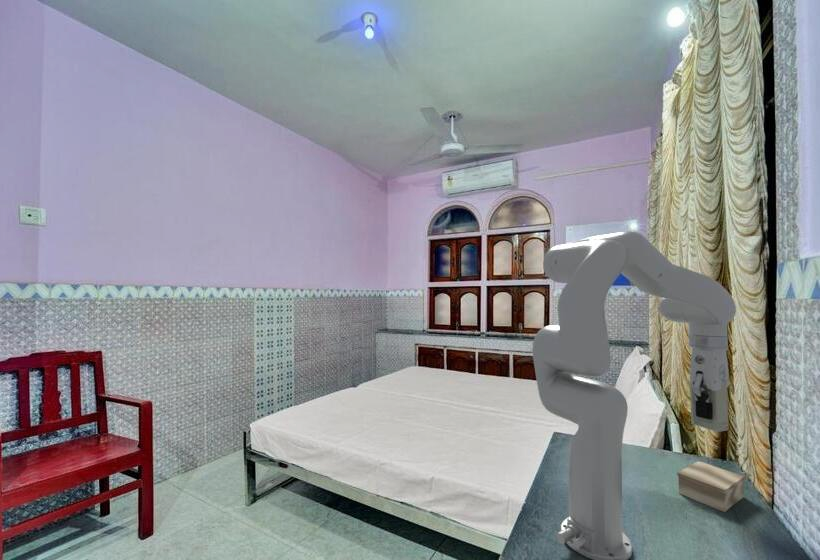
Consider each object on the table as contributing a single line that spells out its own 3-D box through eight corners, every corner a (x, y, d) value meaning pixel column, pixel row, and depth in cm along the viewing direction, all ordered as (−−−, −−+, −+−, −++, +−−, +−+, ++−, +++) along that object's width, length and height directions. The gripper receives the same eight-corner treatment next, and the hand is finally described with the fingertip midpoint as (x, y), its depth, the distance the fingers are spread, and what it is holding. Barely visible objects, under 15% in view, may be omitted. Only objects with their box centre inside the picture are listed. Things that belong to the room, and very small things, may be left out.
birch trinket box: (725, 512, 82) (724, 490, 82) (677, 493, 90) (677, 472, 90) (745, 497, 89) (744, 476, 89) (698, 480, 97) (698, 460, 97)
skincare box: (729, 430, 88) (728, 380, 88) (717, 432, 86) (716, 381, 87) (701, 422, 94) (700, 374, 94) (689, 423, 92) (688, 375, 93)
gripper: (712, 346, 83) (713, 427, 82) (739, 342, 92) (741, 414, 91) (674, 342, 89) (675, 417, 89) (703, 338, 98) (705, 406, 98)
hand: (709, 415), depth 90 cm, fingers closed on skincare box, 5 cm apart
